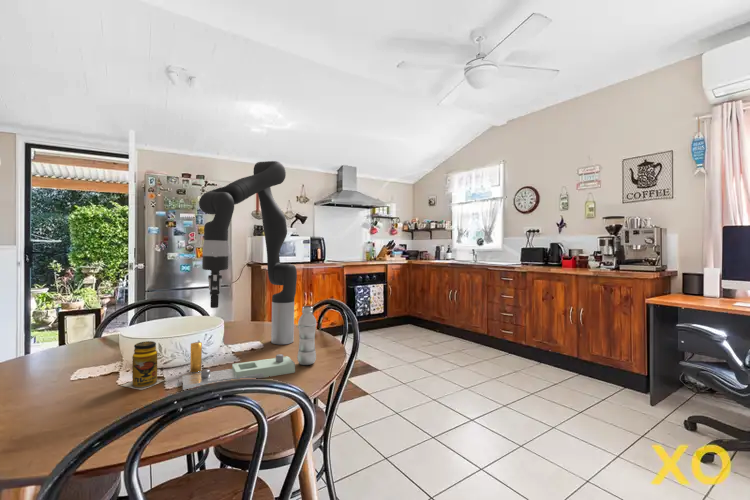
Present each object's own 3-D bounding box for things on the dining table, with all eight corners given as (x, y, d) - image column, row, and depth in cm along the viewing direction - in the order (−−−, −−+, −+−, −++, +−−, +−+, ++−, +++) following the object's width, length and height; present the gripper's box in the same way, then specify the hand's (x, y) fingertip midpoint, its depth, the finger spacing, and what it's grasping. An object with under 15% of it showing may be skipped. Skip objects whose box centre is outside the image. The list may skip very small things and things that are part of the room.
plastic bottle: (318, 361, 126) (319, 305, 125) (312, 367, 119) (314, 309, 119) (300, 360, 126) (301, 304, 126) (294, 366, 119) (295, 308, 119)
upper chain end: (232, 373, 112) (232, 357, 112) (287, 364, 121) (288, 350, 121) (236, 382, 105) (236, 365, 105) (294, 372, 114) (295, 357, 114)
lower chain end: (182, 380, 105) (182, 369, 105) (258, 369, 116) (258, 358, 116) (182, 390, 98) (183, 378, 98) (263, 377, 109) (263, 366, 109)
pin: (190, 370, 114) (190, 342, 114) (201, 368, 116) (201, 341, 115) (190, 373, 111) (190, 345, 111) (201, 372, 113) (202, 344, 113)
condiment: (142, 390, 98) (142, 347, 98) (120, 386, 101) (120, 344, 100) (165, 381, 105) (165, 341, 105) (143, 377, 108) (144, 338, 107)
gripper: (203, 254, 117) (202, 302, 117) (201, 255, 104) (200, 309, 104) (227, 254, 120) (226, 301, 120) (229, 255, 107) (227, 308, 107)
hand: (214, 305), depth 112 cm, fingers open, 8 cm apart
